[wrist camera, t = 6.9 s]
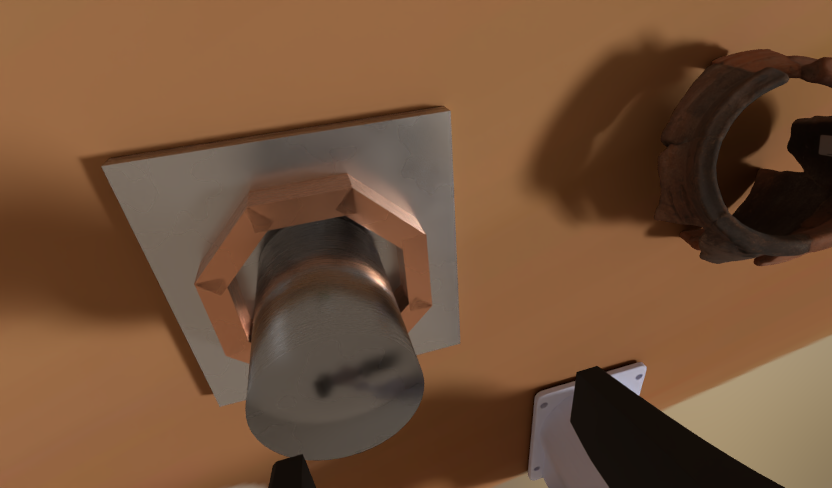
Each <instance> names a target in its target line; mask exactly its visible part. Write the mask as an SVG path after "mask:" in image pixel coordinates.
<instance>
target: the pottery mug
mask: <svg viewBox="0 0 832 488" xmlns="http://www.w3.org/2000/svg"><path fill="white" fill-rule="evenodd" d="M789 78H800V79H803V80H805V81H807V82H811V83H818V84H822V85H826V86H829V87H831V88H832V58H829V57H823V58H820V59H814V58H809V57H804V56H785V55H782V54H780V53H777V52H774V51H771V50H769V49H764V50H763V49H758V50H750V51H744V52H739V53H735V54H731V55H728V56H724V57H720V58H717V59H715V60H713V61H712V65H711V66H709V67H707V68H706V69H705V70H704V72H703V73H702V74H701V75H700V76H699V77H698V78H697V79H696V81H695V82H694V83H693V84H692V86H691V87H690V89H689V90H688V91H687V92H686V94H685V96H684V97H683V98H682V99H681V101H680V102H679V104H678V105H677V107H676V109H675V110H674V111H673V113H672V116H671V117H670V120H669V122H668V123H667V125H666V127H665V129H664V130H663V132H662V135H661V142H662V143H663V144H664V145H665V146H666V147H667V148H666V149H665V150H664V151H663V152H661V153H660V154H659V156H658V173H659V177H660V186H661V196H660V202H659V205H658V207H657V208H656V211H655V216H654V219H655V220H661V221H667V222H671V223H677V224H687V225H695V226H699V227H703V228H702V229H698V230H690V231H682V232H681V233H680V237H681V238H682V239H684V240H685V241H686V242H687V243H688V244H690V245H691V247H692V248H694V249H696V250H701V253H700V258H701V259H703V260H706V261H709V262H712V263H716V264H720V263H724V262H730V261H739V260H745V259H751V258H755V259H754V264H755V265H757V266H766V265H773V264H778V263H782V262H786V261H789V260H792V259H795V258H797V257H800V256H802V255H804V254H807V253H810V252H816V251H820V250H824V249H827V248H830V247H832V116H814V117H812V118H802V119H797V120H795V121H794V122H793V123H792V127H791V137H790V140H789V142H788V145H787V149H788V151H789V152H790V153H791V154H792V155H793V156H794V157H795V158H796V160H797V161H798V162H799V164H800V165H801V166H802V168H803V169H804V172H792V171H783V172H779V171H775V170H770V169H759V170H758V172H757V176H756V179H755V183H754V185H753V187H752V189H751V192H750V194H749V195H748V197H747V198H746V200H745V201H744V202H743V203H742V204H741V205H740V206H739V208H738V209H737V210H736V211H735V213H734V214H733V215H731V214H730V213H729V212H728V209H727V207H726V206H725V204H724V202H723V199H722V196H721V193H720V190H719V187H718V183H717V173H716V164H717V159H718V154H719V150H720V147H721V144H722V140H723V139H724V138H725V136H726V134H727V132H728V130H729V128H730V126H731V125H732V123H733V122H734V121H735V119H736V118H737V117H738V116H739V115H740V113H741V112H742V111H743V110H744V109H745V108H746V107H747V106H748V105H750V104H751V103H752V102H753V101H755V100H756V99H757V98H759V97H760V96H761V95H763V94H765V93H767V92H768V91H770V90H772V89H774V88H776V87H779V86H781V85H783V84H785V83H787V82H788V80H789Z"/></svg>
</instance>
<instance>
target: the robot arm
mask: <svg viewBox="0 0 832 488" xmlns="http://www.w3.org/2000/svg"><path fill="white" fill-rule="evenodd" d="M646 369H647V367H646V366H645V365H644V364H643V363H642V362H638V363H634V364H631V365H627V366H624V367H621V368H617V369H614V370H610V371H607V372H605V371H604V370H602V369H601V368H600V367H598V366H596V367H592V368H589V369H586V370H582V371H579V372H577V374H576V381H573V382H570V383H566V384H563V385H559V386H556V387H553V388H549V389H546V390H543V391H540V392H538V393H537V394H536V396H535V399H534V411H533V422H532V433H531V444H530V455H529V466H528V476H529V478H530V479H531V480H537V479H540V478H544V480H545V482H546V484H547V486H548V488H785V487H783V486H781V485H779V484H777V483H776V482H774V481H772V480H770V479H768V478H766V477H765V476H763V475H761V474H759V473H757V472H756V471H754V470H752V469H751V468H749V467H747V466H746V465H744V464H742V463H740V462H739V461H737V460H736V459H734V458H732V457H731V456H729V455H727V454H726V453H724V452H722V451H721V450H719V449H718V448H716V447H714V446H713V445H711V444H710V443H708V442H706V441H705V440H703V439H702V438H700V437H698V436H697V435H696V434H694V433H692V432H691V431H690V430H688V429H687V428H685V427H684V426H682V425H681V424H679V423H678V422H676V421H675V420H673V419H672V418H670V417H669V416H667V415H666V414H664V413H663V412H662V411H660V410H659V409H657V408H656V407H654V406H653V405H651V404H650V403H649V402H647V401H646V400H644V399H643V398H642V397H640V396H639V395H640V391H641V387H642V384H643V380H644V377H645V373H646ZM268 488H316V486H315V484H314V481H313V479H312V476H311V474H310V471H309V469H308V466H307V464H306V461H305V458H304V456H303V454H300V455H297V456H294V457H290V458H287V459H283V460H280V461H277V462H276V463H275V464H274V465H273V468H272V473H271V478H270V483H269V487H268Z"/></svg>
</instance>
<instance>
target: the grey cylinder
mask: <svg viewBox="0 0 832 488" xmlns="http://www.w3.org/2000/svg"><path fill="white" fill-rule="evenodd" d="M423 391H424V378H423V373H422V370H421V367H420V364H419V362H418V359H417V356H416V354H415V351H414V348H413V345H412V343H411V340H410V337H409V335H408V332H407V329H406V327H405V324H404V321H403V318H402V316H401V313H400V310H399V308H398V305H397V302H396V299H395V297H394V294H393V291H392V289H391V286H390V283H389V281H388V278H387V275H386V272H385V270H384V267H383V264H382V262H381V259H380V256H379V253H378V251H377V248H376V246H375V244H374V242H373V241H372V239H371V238H370V237H369V236H368V235H367V234H366V233H365V232H364V231H363V230H362V229H361V228H359V227H358V226H356V225H354V224H352V223H350V222H348V221H345V220H342V219H338V218H330V219H325V220H320V221H315V222H309V223H304V224H299V225H294V226H289V227H284V228H283V229H281V230H280V231H278V232H277V233H276V234H275V235H274V236H273V237H272V238H271V239H270V240H269V241H268V243H267V244H266V246H265V247H264V249H263V251H262V253H261V256H260V259H259V264H258V272H257V284H256V295H255V307H254V318H253V329H252V341H251V352H250V363H249V375H248V386H247V397H246V419H247V423H248V426H249V428H250V430H251V432H252V433H253V435H254V436H255V437H256V438H257V440H259V441H260V442H261V443H262V444H263V445H264V446H266V447H267V448H269V449H270V450H272V451H274V452H276V453H279V454H281V455H284V456H287V457H294V456H297V455H300V454H303V456H304V458H305V460H331V459H337V458H343V457H347V456H351V455H354V454H358V453H361V452H363V451H366V450H368V449H371V448H373V447H375V446H377V445H379V444H381V443H382V442H384V441H386V440H387V439H389V438H390V437H392V436H393V435H394V434H396V433H397V432H398V431H399V430H400V429H401V428H403V427H404V426H405V425H406V423H407V422H408V421H409V420H410V419H411V418H412V416H413V415H414V413H415V412H416V410H417V408H418V407H419V405H420V402H421V399H422V396H423Z"/></svg>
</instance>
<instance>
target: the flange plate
mask: <svg viewBox="0 0 832 488" xmlns="http://www.w3.org/2000/svg"><path fill="white" fill-rule="evenodd" d="M101 167H102V169H103V171H104V173H105V175H106V177H107V179H108V181H109V183H110V185H111V187H112V189H113V191H114V193H115V195H116V197H117V199H118V201H119V203H120V205H121V207H122V209H123V211H124V213H125V215H126V217H127V220H128V222H129V224H130V226H131V228H132V230H133V232H134V234H135V236H136V238H137V240H138V242H139V244H140V246H141V248H142V250H143V252H144V254H145V256H146V258H147V260H148V262H149V264H150V266H151V268H152V270H153V272H154V274H155V276H156V278H157V280H158V282H159V284H160V286H161V288H162V290H163V292H164V294H165V296H166V299H167V301H168V303H169V305H170V307H171V309H172V311H173V313H174V315H175V317H176V319H177V321H178V323H179V325H180V327H181V329H182V331H183V333H184V335H185V337H186V339H187V341H188V343H189V345H190V347H191V349H192V351H193V353H194V355H195V357H196V359H197V361H198V363H199V365H200V367H201V369H202V371H203V373H204V375H205V377H206V380H207V382H208V384H209V386H210V388H211V390H212V392H213V394H214V396H215V398H216V400H217V402H218V404H219V406H224V405H228V404H232V403H236V402H239V401H243V400H246V397H247V386H248V375H249V363H250V352H251V341H252V329H253V318H254V307H255V295H256V284H257V272H258V264H259V259H260V256H261V253H262V251H263V249H264V247H265V246H266V244H267V243H268V241H269V240H270V239H271V238H272V237H273V236H274V235H275V234H276V233H277V232H278V231H280V230H281V229H283V228H284V227H289V226H294V225H299V224H304V223H309V222H315V221H320V220H325V219H330V218H338V219H342V220H345V221H348V222H350V223H352V224H354V225H356V226H358V227H359V228H361V229H362V230H363V231H364V232H365V233H366V234H367V235H368V236H369V237H370V238H371V239H372V241H373V242H374V244H375V246H376V248H377V251H378V253H379V256H380V259H381V262H382V264H383V267H384V270H385V272H386V275H387V278H388V281H389V283H390V286H391V289H392V291H393V294H394V297H395V299H396V302H397V305H398V308H399V310H400V313H401V316H402V318H403V321H404V324H405V327H406V329H407V332H408V335H409V337H410V340H411V343H412V345H413V348H414V351H415V354H416V355H418V354H422V353H426V352H430V351H433V350H437V349H441V348H445V347H449V346H452V345H456V344H460V325H459V302H458V278H457V254H456V230H455V207H454V183H453V159H452V135H451V112H450V110H449V109H447V108H446V107H444V106H441V107H435V108H428V109H422V110H416V111H409V112H403V113H396V114H390V115H384V116H377V117H371V118H365V119H358V120H352V121H345V122H339V123H333V124H326V125H320V126H313V127H307V128H301V129H294V130H288V131H281V132H275V133H269V134H262V135H256V136H249V137H243V138H237V139H230V140H224V141H217V142H211V143H205V144H198V145H192V146H185V147H179V148H173V149H166V150H160V151H153V152H147V153H141V154H134V155H128V156H121V157H115V158H109V159H108V160H107V161H106V162H105V163H104V164H103V165H102V166H101Z"/></svg>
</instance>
